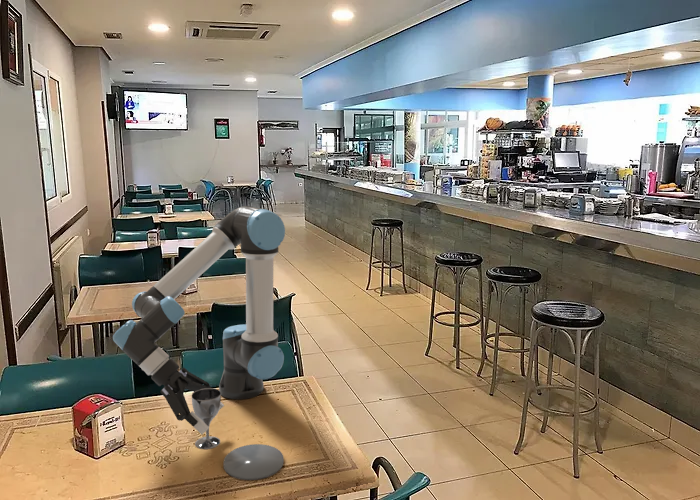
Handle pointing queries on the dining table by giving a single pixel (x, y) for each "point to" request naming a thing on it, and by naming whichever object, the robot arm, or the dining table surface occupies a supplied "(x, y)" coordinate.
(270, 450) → the plate
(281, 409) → the dining table surface
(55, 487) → the dining table surface
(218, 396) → the wine glass
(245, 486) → the dining table surface
